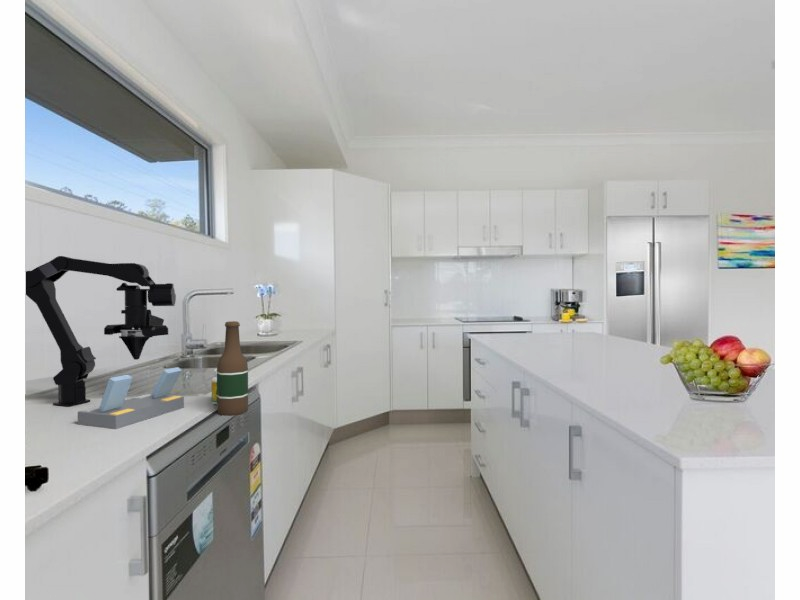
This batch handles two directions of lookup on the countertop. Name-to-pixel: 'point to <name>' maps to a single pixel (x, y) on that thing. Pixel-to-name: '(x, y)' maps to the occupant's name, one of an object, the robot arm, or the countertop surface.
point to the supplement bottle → (214, 388)
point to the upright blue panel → (115, 392)
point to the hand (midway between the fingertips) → (136, 359)
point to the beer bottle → (232, 375)
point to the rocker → (166, 382)
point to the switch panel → (130, 411)
